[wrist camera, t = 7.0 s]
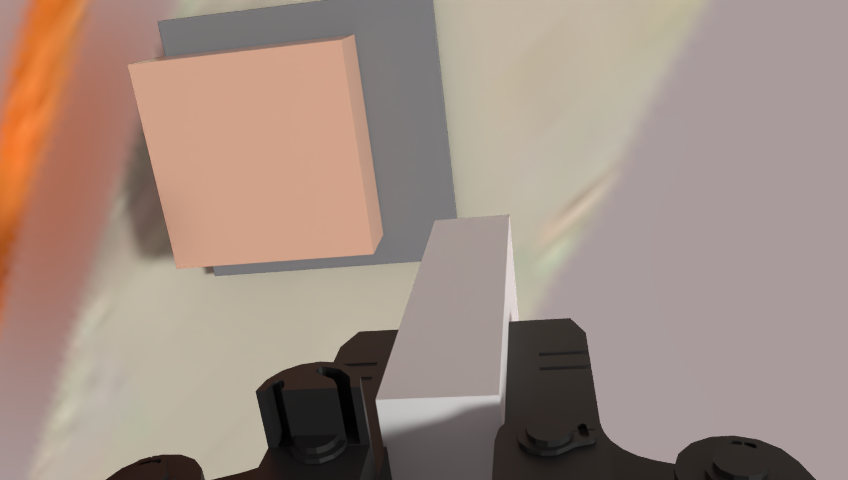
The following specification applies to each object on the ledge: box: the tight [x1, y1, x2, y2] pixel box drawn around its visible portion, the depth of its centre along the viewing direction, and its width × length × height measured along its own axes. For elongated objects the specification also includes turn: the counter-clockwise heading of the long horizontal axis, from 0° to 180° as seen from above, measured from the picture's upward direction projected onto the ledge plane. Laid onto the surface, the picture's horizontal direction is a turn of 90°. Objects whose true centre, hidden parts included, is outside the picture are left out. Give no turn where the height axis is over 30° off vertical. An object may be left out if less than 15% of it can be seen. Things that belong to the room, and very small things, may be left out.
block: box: [128, 34, 383, 269], centre depth 33 cm, size 3×9×9 cm
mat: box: [158, 0, 457, 276], centre depth 34 cm, size 12×12×1 cm
